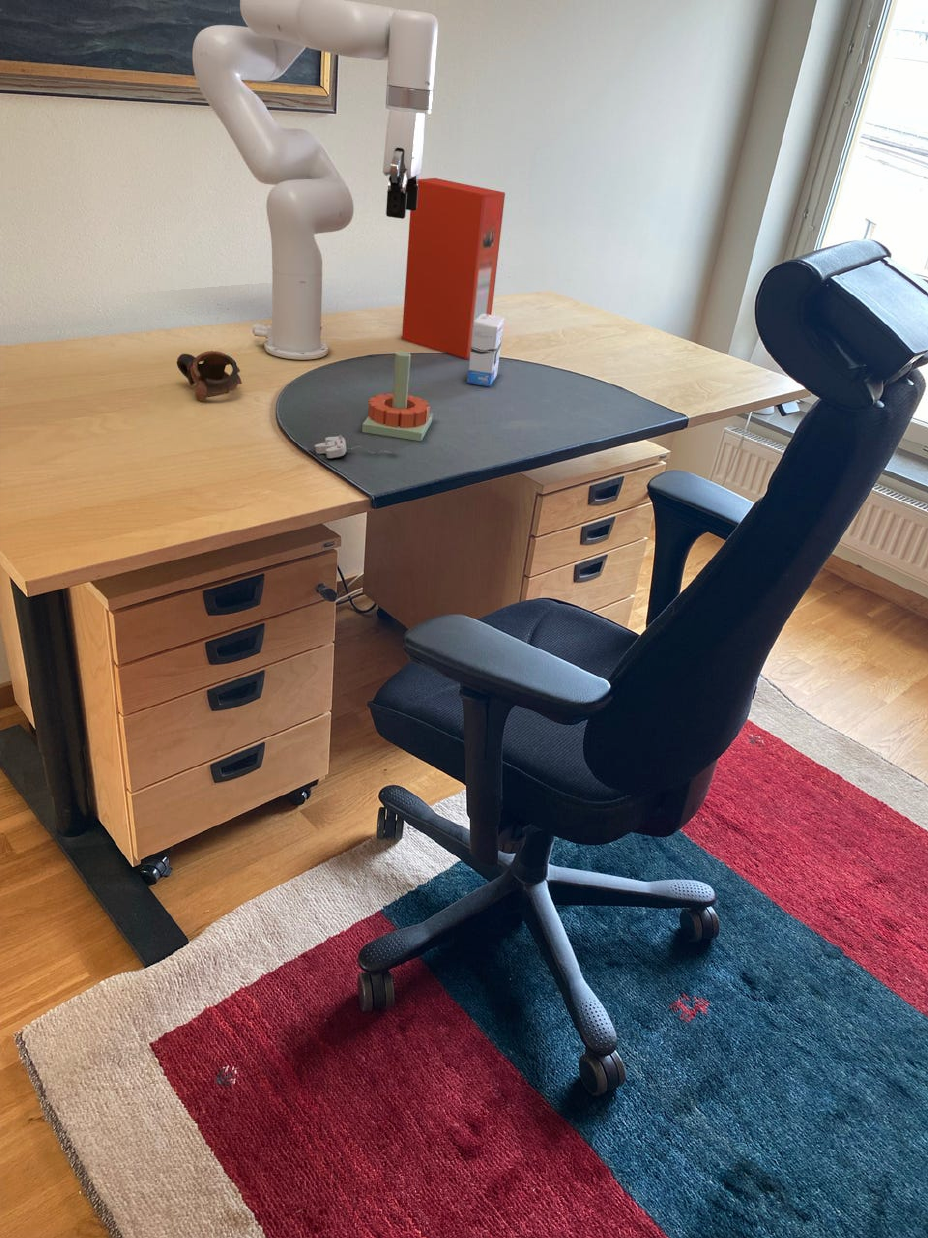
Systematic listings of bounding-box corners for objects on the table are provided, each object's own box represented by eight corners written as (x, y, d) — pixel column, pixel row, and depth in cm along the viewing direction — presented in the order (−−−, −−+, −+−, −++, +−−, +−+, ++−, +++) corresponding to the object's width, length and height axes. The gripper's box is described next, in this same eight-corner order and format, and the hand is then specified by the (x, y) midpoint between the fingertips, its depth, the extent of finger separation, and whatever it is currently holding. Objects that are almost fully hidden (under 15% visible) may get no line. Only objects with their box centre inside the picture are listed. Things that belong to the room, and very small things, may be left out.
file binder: (465, 359, 197) (483, 194, 180) (400, 339, 205) (412, 179, 188) (486, 353, 203) (506, 192, 186) (423, 333, 211) (436, 177, 194)
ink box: (490, 387, 183) (498, 326, 177) (465, 383, 184) (472, 322, 177) (497, 375, 190) (505, 316, 184) (473, 371, 191) (480, 312, 185)
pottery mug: (250, 390, 168) (251, 358, 161) (225, 427, 164) (226, 395, 156) (188, 363, 168) (186, 329, 161) (161, 398, 163) (159, 366, 156)
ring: (361, 421, 156) (362, 407, 154) (376, 403, 164) (377, 389, 163) (421, 431, 155) (422, 417, 153) (433, 412, 163) (434, 398, 162)
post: (361, 432, 156) (365, 357, 149) (375, 412, 164) (380, 341, 158) (421, 441, 155) (427, 366, 149) (432, 421, 164) (438, 349, 157)
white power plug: (310, 447, 148) (310, 431, 146) (378, 443, 153) (379, 427, 151) (322, 461, 144) (322, 445, 142) (392, 456, 149) (393, 440, 147)
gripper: (397, 95, 161) (391, 203, 170) (374, 99, 146) (368, 217, 155) (440, 101, 160) (431, 209, 169) (421, 105, 146) (413, 223, 155)
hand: (401, 213), depth 162 cm, fingers open, 9 cm apart
